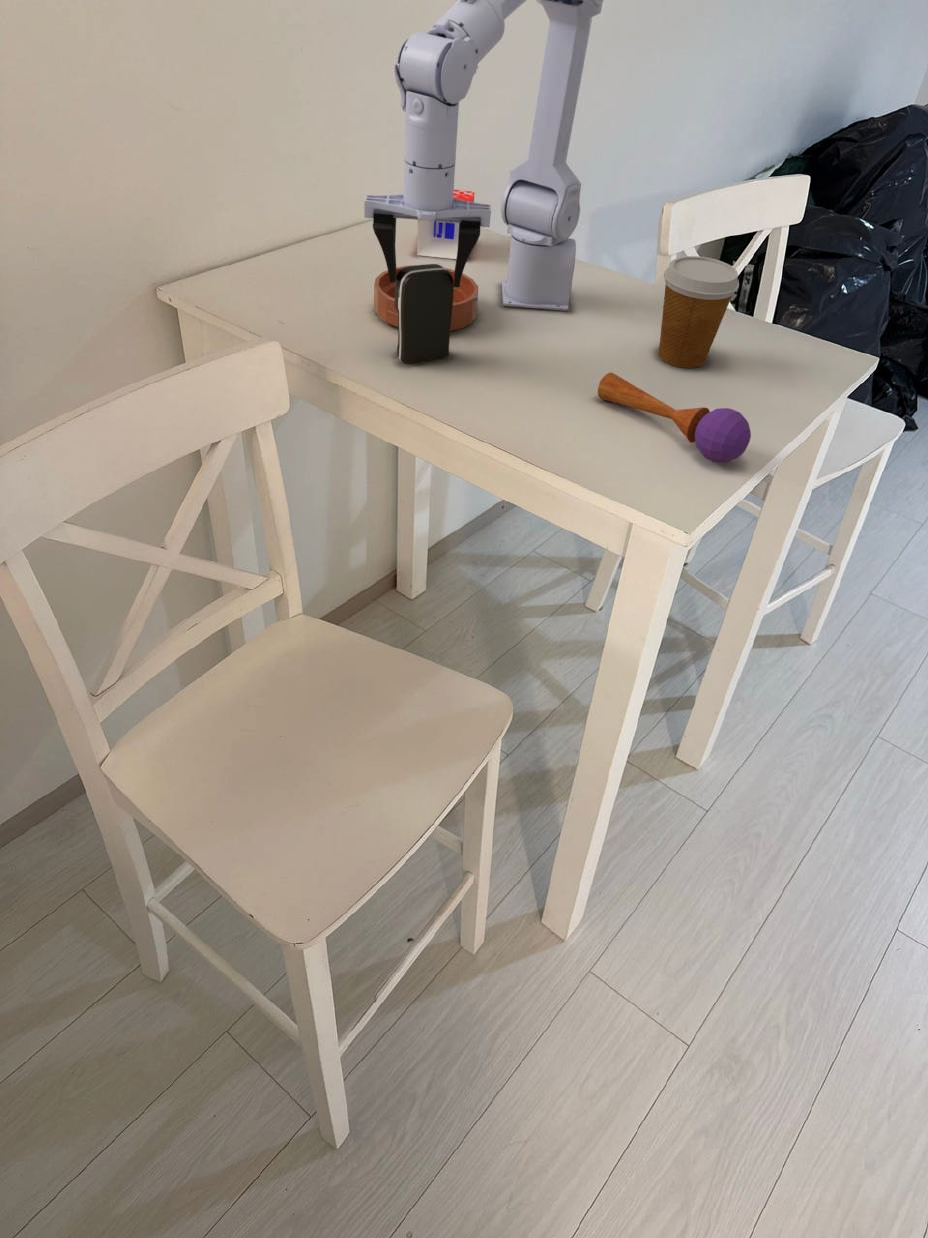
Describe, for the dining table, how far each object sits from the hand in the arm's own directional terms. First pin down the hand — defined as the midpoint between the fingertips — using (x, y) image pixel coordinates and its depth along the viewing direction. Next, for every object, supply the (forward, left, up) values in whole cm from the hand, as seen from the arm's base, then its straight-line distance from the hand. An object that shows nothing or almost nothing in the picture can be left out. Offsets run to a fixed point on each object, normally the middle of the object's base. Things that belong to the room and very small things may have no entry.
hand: (424, 281), depth 110 cm
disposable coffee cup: (-35, -5, -10) cm, 37 cm away
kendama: (-30, +15, -10) cm, 35 cm away
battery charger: (0, 0, -10) cm, 10 cm away
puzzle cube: (-2, -38, -10) cm, 40 cm away
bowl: (0, -13, -10) cm, 17 cm away
